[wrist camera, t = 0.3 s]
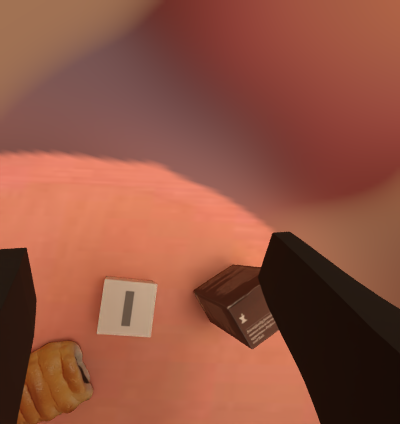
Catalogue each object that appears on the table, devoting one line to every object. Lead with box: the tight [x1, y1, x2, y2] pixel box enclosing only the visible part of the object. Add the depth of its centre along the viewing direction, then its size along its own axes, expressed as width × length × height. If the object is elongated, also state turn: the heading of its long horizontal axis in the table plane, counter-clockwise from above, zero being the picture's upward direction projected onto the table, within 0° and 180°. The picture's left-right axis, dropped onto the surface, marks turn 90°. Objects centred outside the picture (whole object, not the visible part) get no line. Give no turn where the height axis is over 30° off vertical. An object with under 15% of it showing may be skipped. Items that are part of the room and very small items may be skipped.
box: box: [193, 265, 279, 349], centre depth 35 cm, size 6×4×12 cm
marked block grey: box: [97, 276, 157, 337], centre depth 36 cm, size 5×5×5 cm
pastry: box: [17, 341, 93, 424], centre depth 34 cm, size 9×7×4 cm
